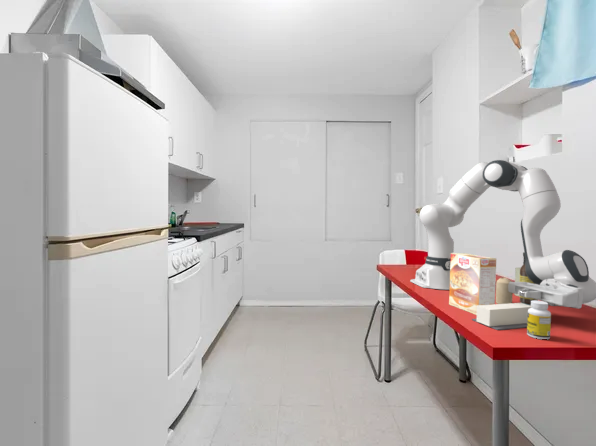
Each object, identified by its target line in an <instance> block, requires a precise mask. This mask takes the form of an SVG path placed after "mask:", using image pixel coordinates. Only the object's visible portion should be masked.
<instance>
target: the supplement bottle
mask: <svg viewBox="0 0 596 446" xmlns="http://www.w3.org/2000/svg"><path fill="white" fill-rule="evenodd" d="M530 305H531V306H532V308H530V309H528V318H527V328H526V335H528V337H531V338H532V339H536V338H537V340H542V339H547V340H549V339H550V338H551V322H552V313H551V311H550V310H549V305H548V303H547V302H544V301H541V300H538V301H537V300H533V301H531V304H530Z"/></svg>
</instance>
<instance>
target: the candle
mask: <svg viewBox="0 0 596 446" xmlns="http://www.w3.org/2000/svg"><path fill="white" fill-rule="evenodd" d="M509 282H513V280H510V279H509V278H507V277H500V278H498V279H496V283H495V304H509V303H513V296H514V293H510V292H509V291H508V284H509Z"/></svg>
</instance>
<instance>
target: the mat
mask: <svg viewBox="0 0 596 446" xmlns="http://www.w3.org/2000/svg"><path fill="white" fill-rule="evenodd" d="M471 321H473V322H476V323H478V324H480V325H483V326H485V327H488V328H491V329H494V330H497V331H503V330H504V331H505V330H514V329H525V328H526V329H527V323H523V324H511V325H499V326H487V325H485V324H482V323H479V322H477V318H471Z"/></svg>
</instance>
